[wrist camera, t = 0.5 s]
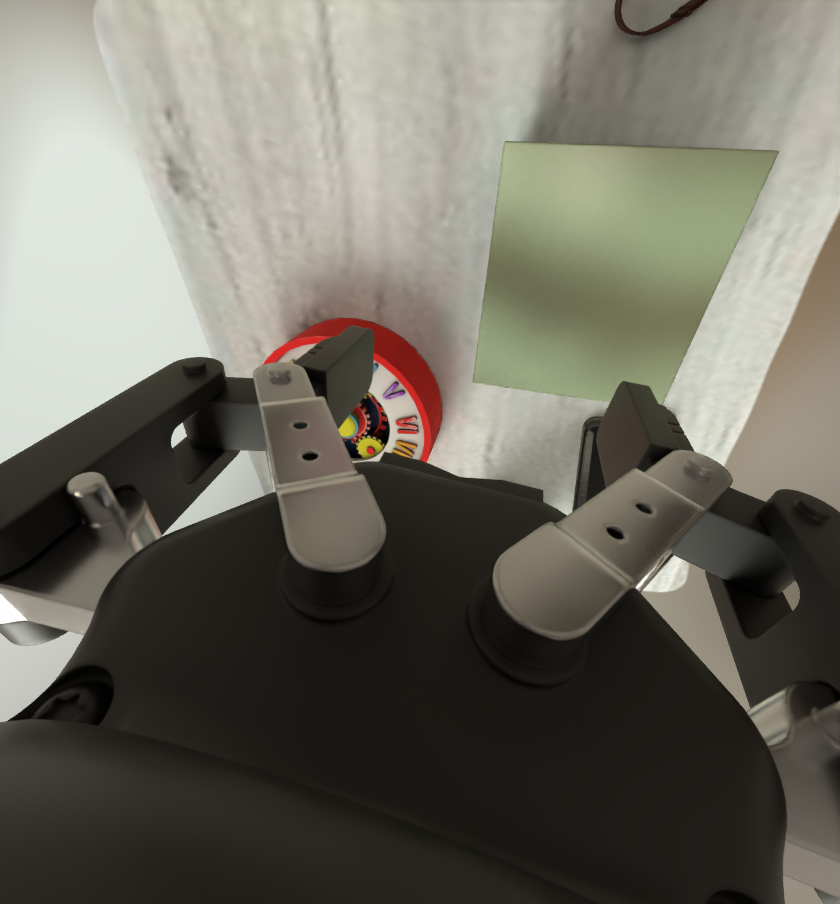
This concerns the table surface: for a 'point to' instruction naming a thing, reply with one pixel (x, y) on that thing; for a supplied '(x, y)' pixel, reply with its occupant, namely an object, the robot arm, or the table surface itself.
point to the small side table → (607, 261)
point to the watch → (681, 13)
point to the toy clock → (382, 394)
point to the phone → (589, 465)
